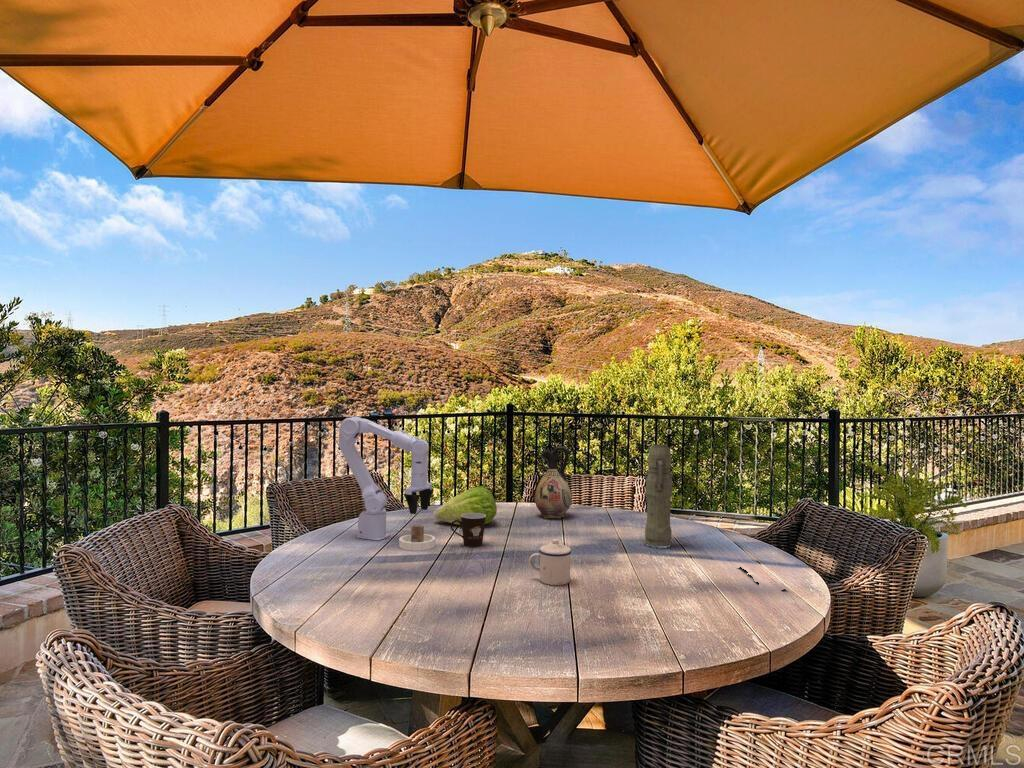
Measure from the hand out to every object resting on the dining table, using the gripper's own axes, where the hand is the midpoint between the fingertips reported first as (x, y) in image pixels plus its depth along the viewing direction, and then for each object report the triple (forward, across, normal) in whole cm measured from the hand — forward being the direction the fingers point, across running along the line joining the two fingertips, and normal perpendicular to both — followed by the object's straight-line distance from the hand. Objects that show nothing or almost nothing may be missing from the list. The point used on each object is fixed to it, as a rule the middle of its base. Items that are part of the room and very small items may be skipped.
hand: (418, 511), depth 210 cm
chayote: (+10, +26, -6) cm, 29 cm away
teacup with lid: (+10, -22, -57) cm, 62 cm away
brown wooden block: (+9, -9, -5) cm, 13 cm away
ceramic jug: (+10, +53, -34) cm, 64 cm away
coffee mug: (+10, 0, -20) cm, 22 cm away
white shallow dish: (+9, -9, -5) cm, 14 cm away
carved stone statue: (+10, +29, -80) cm, 85 cm away
